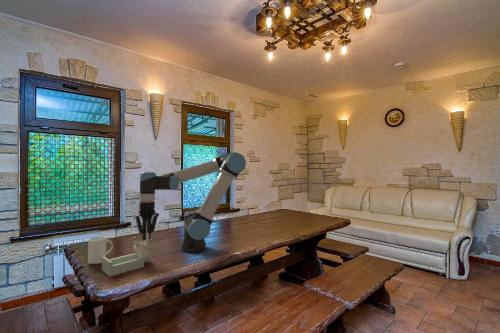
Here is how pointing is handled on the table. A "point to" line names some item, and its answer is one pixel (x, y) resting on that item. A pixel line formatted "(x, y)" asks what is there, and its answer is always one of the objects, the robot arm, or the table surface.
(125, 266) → the cradle
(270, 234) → the table surface
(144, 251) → the bottle
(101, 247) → the mug
